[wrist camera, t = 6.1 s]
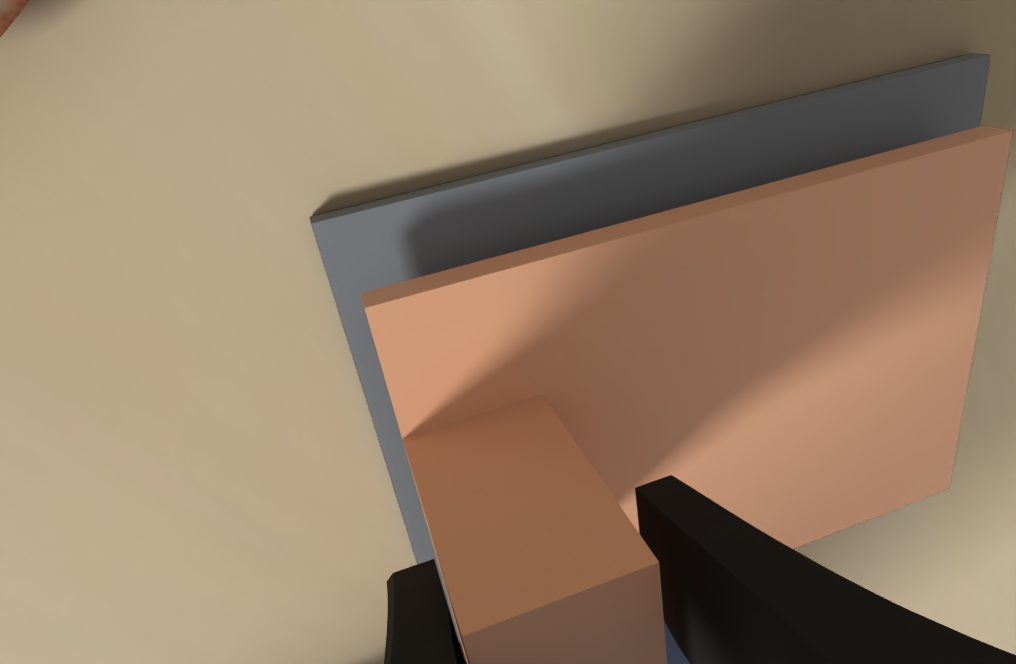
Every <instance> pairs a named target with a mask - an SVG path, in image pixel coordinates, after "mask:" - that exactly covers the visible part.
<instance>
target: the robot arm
mask: <svg viewBox="0 0 1016 664" xmlns="http://www.w3.org/2000/svg"><path fill="white" fill-rule="evenodd" d="M635 494H636V504H637V514H638V524H639V534H640V535H641V537H642V538H643V540H644V541H645V543H646V544H647V545H648V547H649V548H650V550H651V551H652V553H653V554H654V556H655V557H656V558H657V560H658V561H659V567H660V579H661V592H662V604H663V616H664V621H665V623H666V625H667V627H668V629H669V630H670V632H671V634H672V636H673V638H674V640H675V641H676V643H677V645H678V646H679V648H680V649H681V651H682V652H683V654H684V655H685V657H686V658H687V660H688V661H689V663H690V664H1016V655H1014V654H1011V653H1009V652H1006V651H1003V650H1001V649H998V648H996V647H993V646H991V645H988V644H986V643H984V642H981V641H979V640H976V639H974V638H971V637H969V636H966V635H964V634H962V633H960V632H957V631H955V630H953V629H951V628H948V627H946V626H944V625H942V624H939V623H937V622H935V621H932V620H930V619H928V618H926V617H923V616H921V615H919V614H917V613H914V612H912V611H910V610H908V609H906V608H904V607H901V606H899V605H897V604H895V603H893V602H891V601H889V600H887V599H885V598H883V597H881V596H879V595H877V594H875V593H873V592H871V591H869V590H867V589H865V588H863V587H861V586H859V585H857V584H855V583H854V582H852V581H850V580H848V579H846V578H844V577H842V576H840V575H838V574H836V573H834V572H833V571H831V570H829V569H827V568H825V567H823V566H822V565H820V564H818V563H816V562H814V561H813V560H811V559H809V558H807V557H806V556H804V555H802V554H800V553H799V552H797V551H795V550H793V549H792V548H790V547H788V546H786V545H785V544H783V543H781V542H780V541H778V540H776V539H774V538H773V537H771V536H769V535H768V534H766V533H764V532H763V531H761V530H759V529H758V528H756V527H754V526H753V525H751V524H749V523H748V522H746V521H744V520H743V519H741V518H740V517H738V516H736V515H735V514H733V513H731V512H730V511H728V510H727V509H725V508H723V507H722V506H720V505H719V504H717V503H716V502H714V501H712V500H711V499H709V498H708V497H706V496H704V495H703V494H701V493H700V492H698V491H697V490H695V489H693V488H692V487H690V486H689V485H687V484H685V483H684V482H682V481H681V480H679V479H677V478H676V477H674V476H672V475H669V476H667V477H664V478H661V479H658V480H655V481H652V482H650V483H647V484H644V485H641V486H638V487H636V488H635ZM387 591H388V621H387V638H386V648H385V659H384V664H465V661H464V658H463V655H462V651H461V648H460V644H459V641H458V638H457V634H456V631H455V628H454V624H453V621H452V617H451V614H450V611H449V607H448V604H447V600H446V597H445V594H444V590H443V587H442V583H441V580H440V577H439V573H438V570H437V567H436V563H435V560H434V559H432V560H429V561H426V562H423V563H420V564H418V565H415V566H412V567H409V568H406V569H403V570H401V571H398V572H395V573H393V574H392V575H391V577H390V578H389V580H388V581H387Z"/></svg>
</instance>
